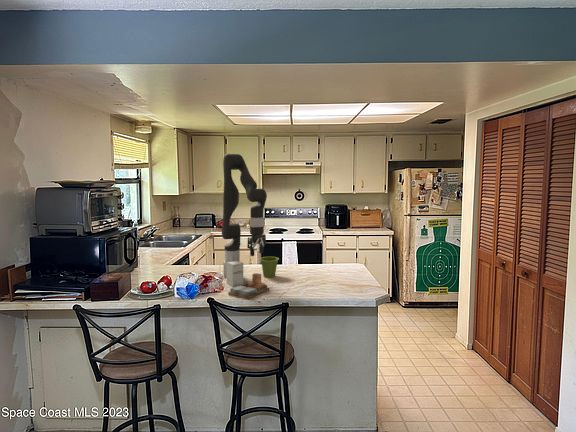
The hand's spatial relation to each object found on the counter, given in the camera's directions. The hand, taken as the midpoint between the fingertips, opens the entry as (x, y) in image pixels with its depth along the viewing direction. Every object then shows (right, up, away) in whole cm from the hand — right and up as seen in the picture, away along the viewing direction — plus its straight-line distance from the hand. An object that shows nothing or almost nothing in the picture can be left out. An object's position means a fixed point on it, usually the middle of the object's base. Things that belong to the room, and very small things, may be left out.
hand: (256, 254), depth 220 cm
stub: (0, -18, +2) cm, 18 cm away
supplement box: (-14, -19, +13) cm, 26 cm away
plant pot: (+6, -17, +29) cm, 34 cm away
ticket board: (-4, -20, -4) cm, 21 cm away
